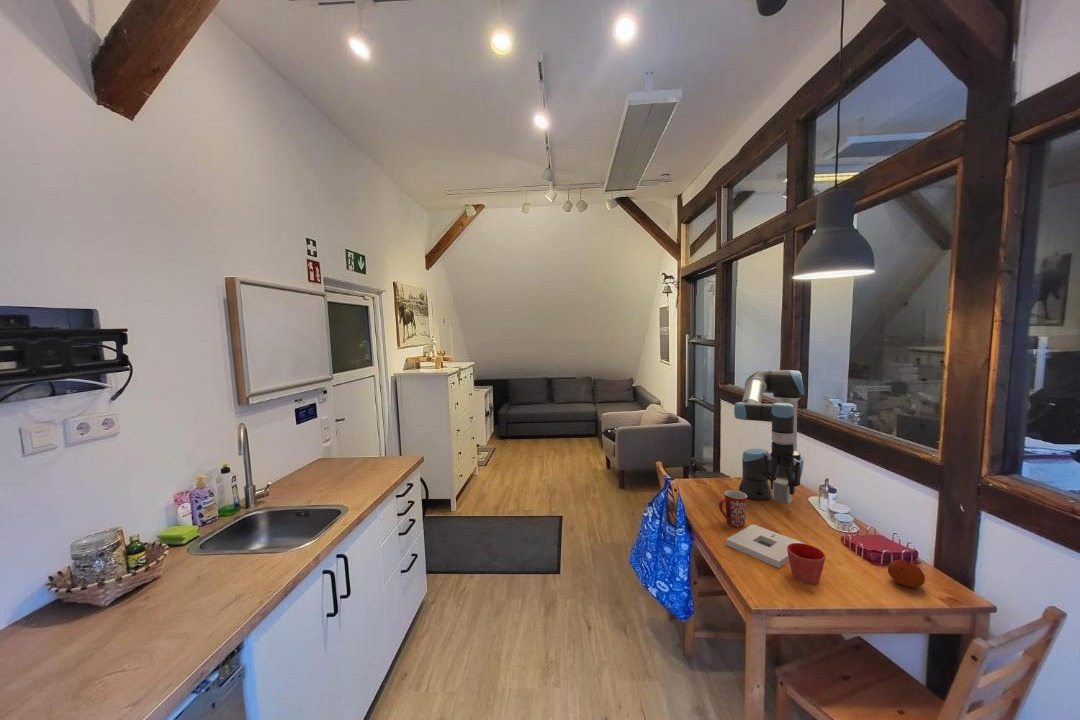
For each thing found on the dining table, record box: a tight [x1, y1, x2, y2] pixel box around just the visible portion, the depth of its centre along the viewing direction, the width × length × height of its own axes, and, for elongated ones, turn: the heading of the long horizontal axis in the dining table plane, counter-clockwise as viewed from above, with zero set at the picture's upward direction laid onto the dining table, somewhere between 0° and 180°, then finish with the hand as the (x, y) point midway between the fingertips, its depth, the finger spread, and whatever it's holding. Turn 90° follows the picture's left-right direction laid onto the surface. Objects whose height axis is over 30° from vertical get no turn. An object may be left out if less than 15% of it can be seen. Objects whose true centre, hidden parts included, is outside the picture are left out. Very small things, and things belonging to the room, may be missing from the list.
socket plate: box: [726, 523, 806, 569], centre depth 157 cm, size 20×20×3 cm
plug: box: [773, 478, 789, 504], centre depth 160 cm, size 5×5×8 cm
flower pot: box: [787, 542, 826, 586], centre depth 137 cm, size 11×11×10 cm
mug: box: [718, 489, 748, 528], centre depth 176 cm, size 13×9×14 cm
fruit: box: [887, 559, 926, 589], centre depth 132 cm, size 9×9×8 cm
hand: (782, 499), depth 160 cm, fingers closed on plug, 4 cm apart
